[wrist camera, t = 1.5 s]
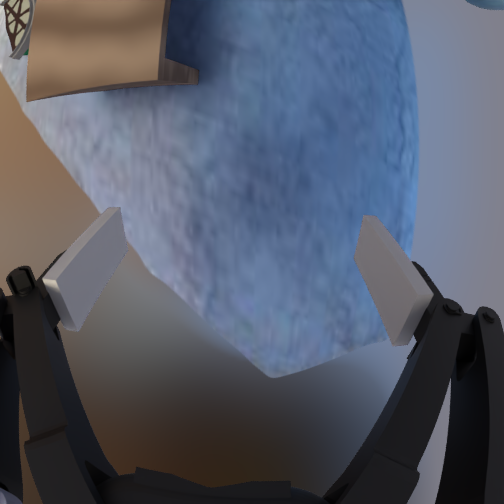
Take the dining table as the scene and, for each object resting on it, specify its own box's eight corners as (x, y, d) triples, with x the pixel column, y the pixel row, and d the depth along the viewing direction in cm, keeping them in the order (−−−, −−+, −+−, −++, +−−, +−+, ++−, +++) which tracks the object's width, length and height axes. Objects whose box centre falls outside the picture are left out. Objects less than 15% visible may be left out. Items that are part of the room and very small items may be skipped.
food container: (80, 36, 26) (39, 30, 18) (51, 59, 28) (9, 60, 19) (65, -15, 20) (28, -27, 12) (37, 8, 22) (-1, 2, 13)
